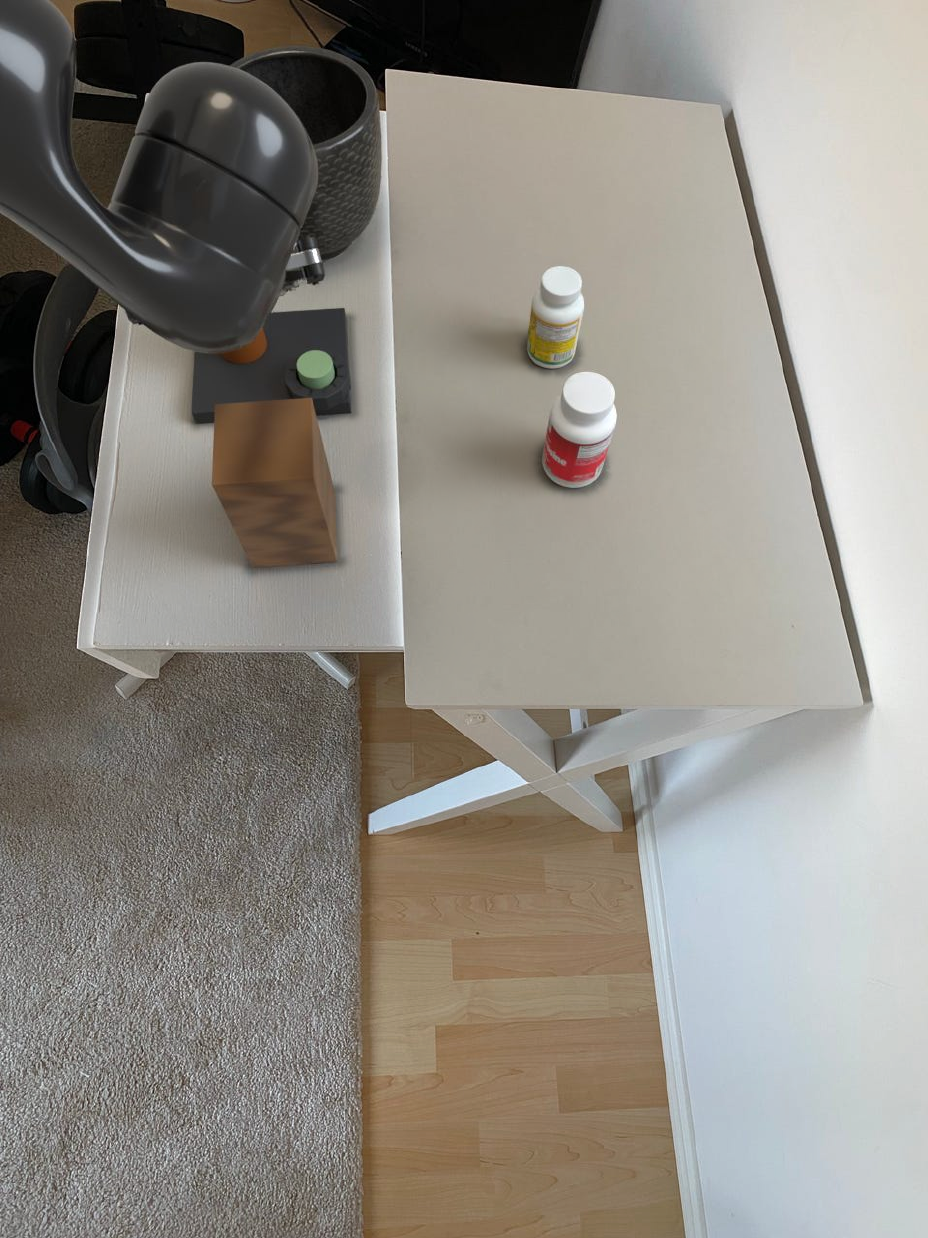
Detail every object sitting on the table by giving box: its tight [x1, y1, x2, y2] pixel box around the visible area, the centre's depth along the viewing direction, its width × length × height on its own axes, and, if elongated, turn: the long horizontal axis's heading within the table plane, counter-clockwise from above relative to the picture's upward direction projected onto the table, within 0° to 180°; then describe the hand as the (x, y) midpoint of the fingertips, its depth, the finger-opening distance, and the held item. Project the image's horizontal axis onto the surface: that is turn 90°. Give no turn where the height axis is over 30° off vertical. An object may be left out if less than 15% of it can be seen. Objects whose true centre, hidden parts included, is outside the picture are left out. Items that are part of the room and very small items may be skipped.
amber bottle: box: [221, 327, 267, 364], centre depth 79 cm, size 5×5×10 cm
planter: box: [229, 45, 383, 261], centre depth 85 cm, size 17×17×16 cm
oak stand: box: [211, 398, 338, 569], centre depth 70 cm, size 8×8×14 cm
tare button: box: [297, 350, 335, 389], centre depth 79 cm, size 4×4×2 cm
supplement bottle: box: [526, 265, 585, 369], centre depth 82 cm, size 5×5×10 cm
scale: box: [191, 307, 352, 425], centre depth 83 cm, size 16×14×4 cm
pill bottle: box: [541, 371, 618, 489], centre depth 75 cm, size 6×6×11 cm
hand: (226, 291), depth 63 cm, fingers open, 8 cm apart
